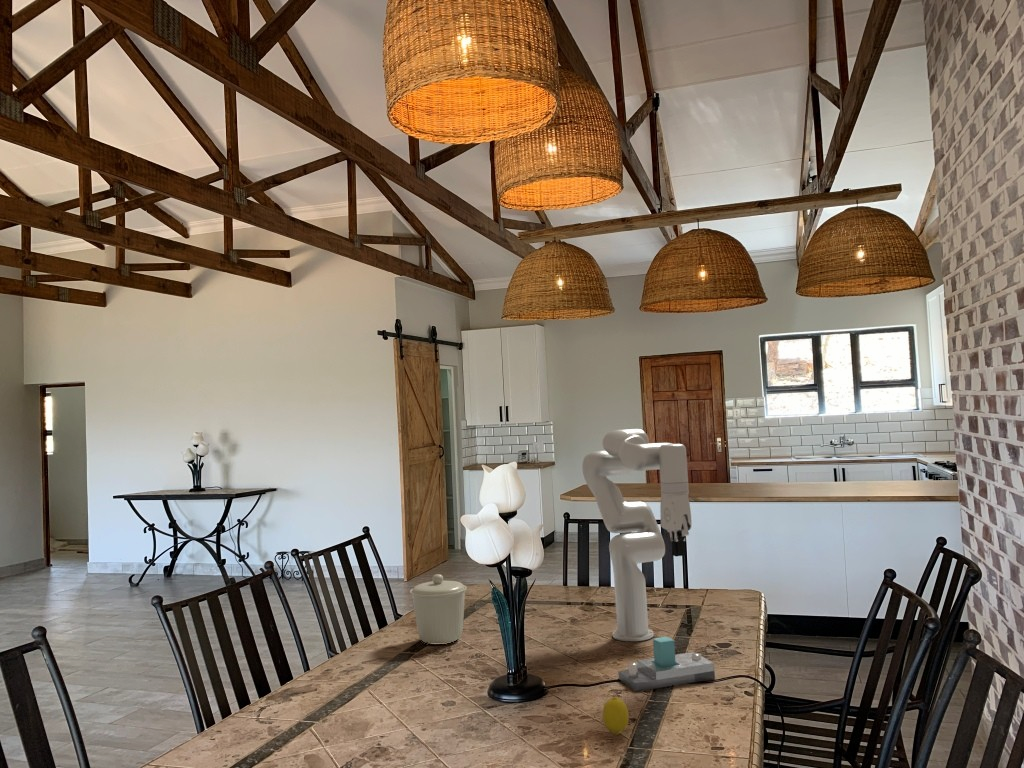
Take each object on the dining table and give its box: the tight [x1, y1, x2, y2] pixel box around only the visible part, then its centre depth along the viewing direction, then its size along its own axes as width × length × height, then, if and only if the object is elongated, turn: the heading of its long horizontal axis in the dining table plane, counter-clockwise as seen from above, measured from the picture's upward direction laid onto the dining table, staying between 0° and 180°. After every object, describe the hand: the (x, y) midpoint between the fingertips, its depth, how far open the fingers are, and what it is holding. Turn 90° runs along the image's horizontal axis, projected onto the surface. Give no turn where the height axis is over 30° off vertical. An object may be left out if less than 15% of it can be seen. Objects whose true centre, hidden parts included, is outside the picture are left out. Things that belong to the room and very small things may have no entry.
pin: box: [652, 636, 676, 668], centre depth 205 cm, size 4×4×10 cm
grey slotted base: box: [617, 651, 716, 692], centre depth 205 cm, size 11×22×5 cm, turn 106°
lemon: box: [602, 696, 630, 736], centre depth 171 cm, size 6×6×8 cm
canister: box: [409, 573, 468, 643], centre depth 253 cm, size 18×18×21 cm
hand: (678, 555), depth 219 cm, fingers closed
